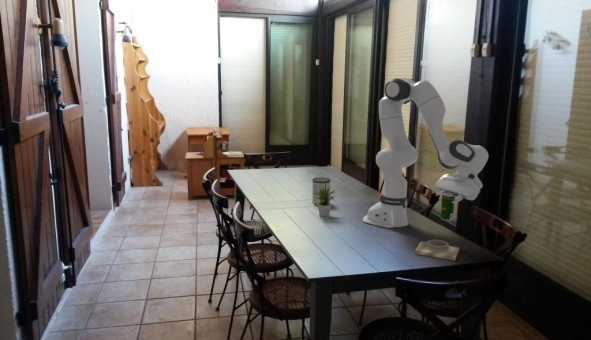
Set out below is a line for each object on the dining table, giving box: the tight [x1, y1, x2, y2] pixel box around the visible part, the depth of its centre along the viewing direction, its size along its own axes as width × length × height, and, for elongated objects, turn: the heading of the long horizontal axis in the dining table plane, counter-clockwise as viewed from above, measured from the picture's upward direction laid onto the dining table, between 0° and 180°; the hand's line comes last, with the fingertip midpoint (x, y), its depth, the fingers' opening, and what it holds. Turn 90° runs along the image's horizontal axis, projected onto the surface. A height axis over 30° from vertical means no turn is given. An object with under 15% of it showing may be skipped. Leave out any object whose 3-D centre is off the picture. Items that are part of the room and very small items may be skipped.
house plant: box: [314, 186, 338, 218], centre depth 245 cm, size 14×14×16 cm
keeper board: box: [414, 239, 460, 261], centre depth 198 cm, size 16×12×4 cm
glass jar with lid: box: [311, 177, 331, 206], centre depth 269 cm, size 10×10×14 cm
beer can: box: [440, 191, 456, 222], centre depth 205 cm, size 5×5×12 cm
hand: (447, 201), depth 204 cm, fingers closed on beer can, 5 cm apart
